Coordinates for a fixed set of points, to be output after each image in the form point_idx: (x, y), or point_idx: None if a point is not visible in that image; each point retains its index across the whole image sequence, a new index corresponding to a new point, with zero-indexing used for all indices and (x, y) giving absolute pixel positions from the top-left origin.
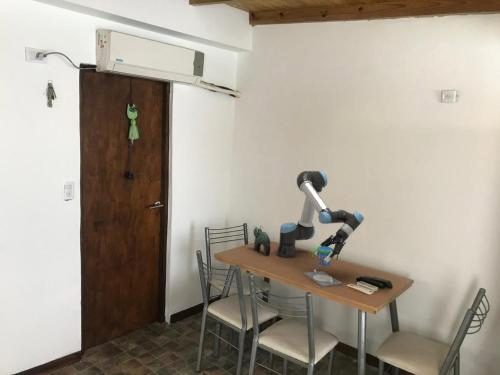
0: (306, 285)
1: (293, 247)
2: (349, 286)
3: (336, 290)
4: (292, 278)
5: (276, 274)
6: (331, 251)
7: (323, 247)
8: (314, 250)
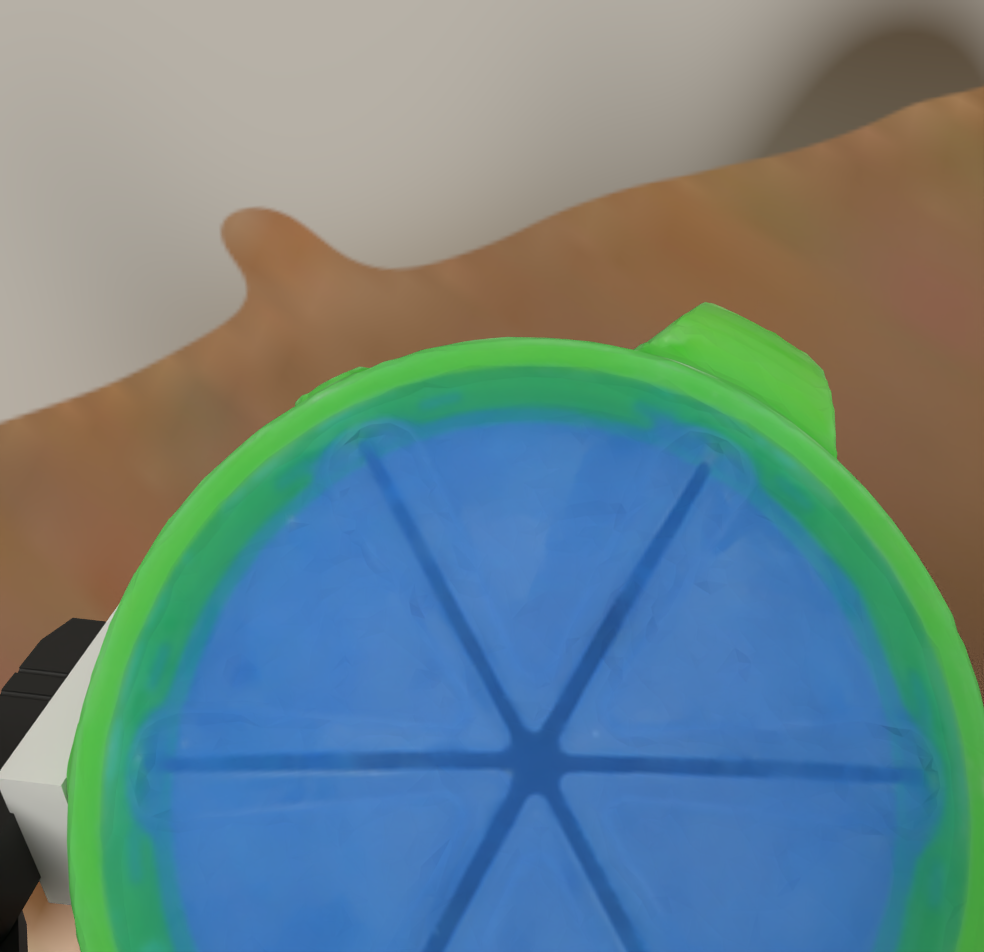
0: (391, 287)
1: None
2: (72, 921)
3: (49, 577)
4: (692, 261)
5: (896, 147)
6: (69, 795)
7: (859, 879)
8: (726, 314)
